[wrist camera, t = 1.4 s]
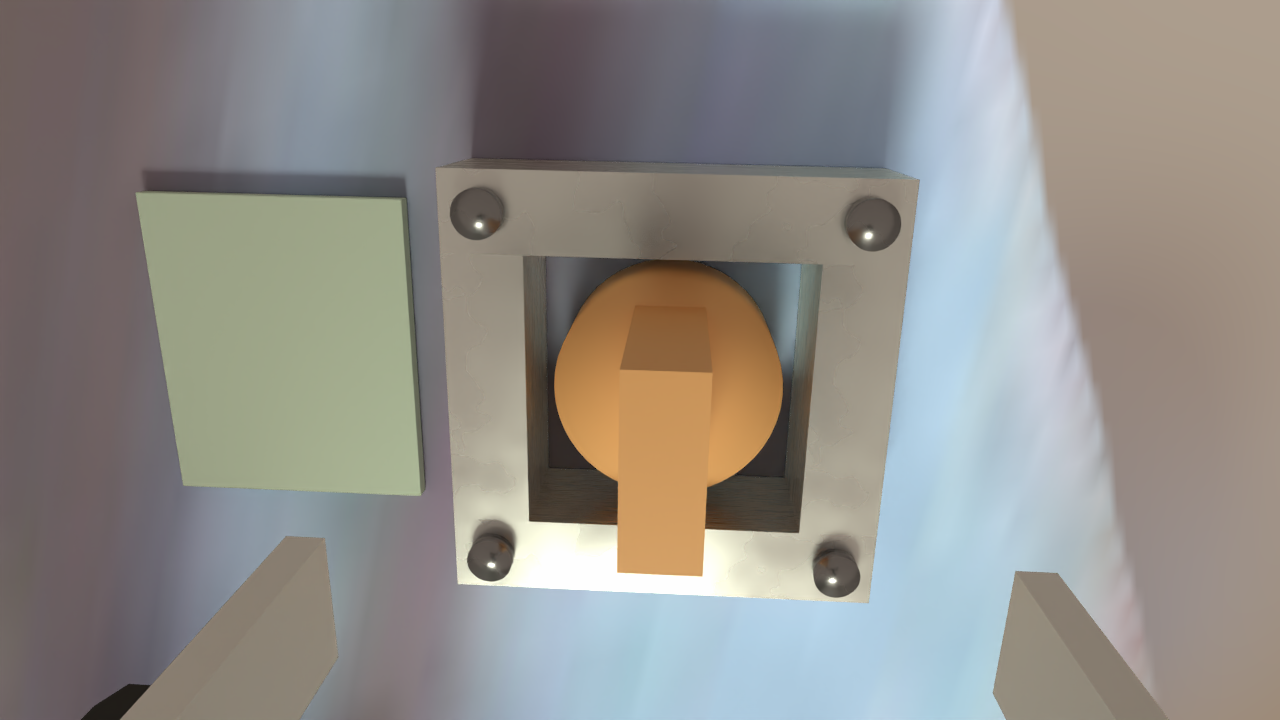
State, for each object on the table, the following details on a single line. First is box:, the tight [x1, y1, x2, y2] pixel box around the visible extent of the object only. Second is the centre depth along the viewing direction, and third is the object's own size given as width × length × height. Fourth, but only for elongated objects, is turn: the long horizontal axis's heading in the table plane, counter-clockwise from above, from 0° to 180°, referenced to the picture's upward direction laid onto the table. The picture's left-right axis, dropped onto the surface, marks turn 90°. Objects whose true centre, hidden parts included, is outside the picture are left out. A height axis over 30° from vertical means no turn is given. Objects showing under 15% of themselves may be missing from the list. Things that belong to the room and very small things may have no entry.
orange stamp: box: [554, 259, 783, 577], centre depth 27 cm, size 8×8×10 cm
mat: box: [136, 191, 425, 496], centre depth 32 cm, size 12×10×1 cm
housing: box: [436, 158, 920, 603], centre depth 30 cm, size 15×15×5 cm
